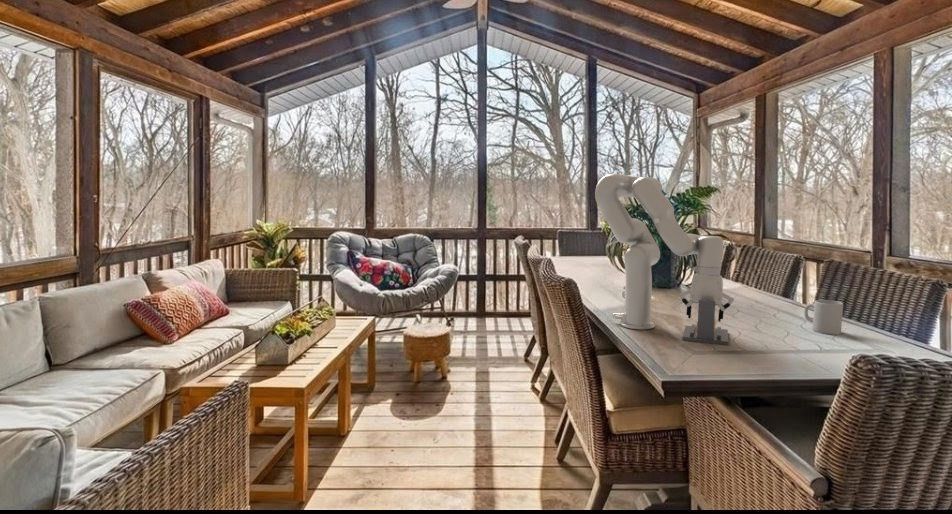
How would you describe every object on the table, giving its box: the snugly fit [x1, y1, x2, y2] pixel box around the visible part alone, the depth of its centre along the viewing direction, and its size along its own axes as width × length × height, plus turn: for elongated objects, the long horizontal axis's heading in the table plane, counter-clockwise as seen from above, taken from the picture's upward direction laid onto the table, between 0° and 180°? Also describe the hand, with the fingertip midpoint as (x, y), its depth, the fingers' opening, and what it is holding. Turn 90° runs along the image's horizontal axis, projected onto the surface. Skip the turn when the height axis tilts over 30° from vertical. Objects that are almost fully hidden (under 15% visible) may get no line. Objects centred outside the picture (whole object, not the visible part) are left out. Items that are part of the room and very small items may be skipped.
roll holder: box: [682, 300, 729, 346], centre depth 174 cm, size 14×17×14 cm
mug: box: [803, 299, 844, 336], centre depth 182 cm, size 12×8×11 cm
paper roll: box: [695, 318, 717, 333], centre depth 175 cm, size 12×6×6 cm, turn 154°
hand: (704, 319), depth 175 cm, fingers open, 9 cm apart
